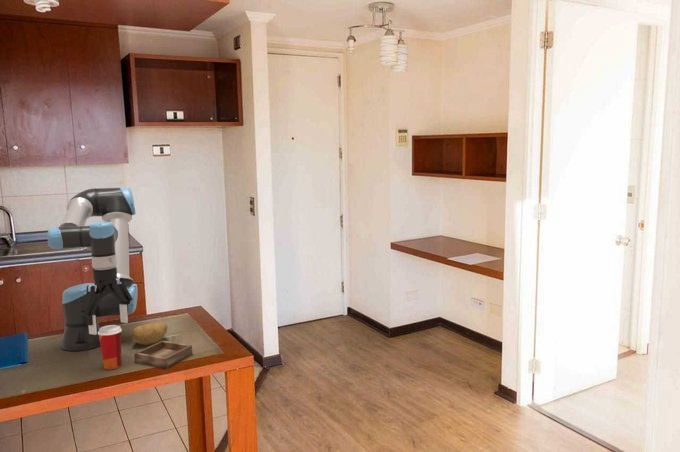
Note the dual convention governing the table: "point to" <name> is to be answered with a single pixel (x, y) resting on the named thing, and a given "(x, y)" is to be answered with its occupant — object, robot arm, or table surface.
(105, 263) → the robot arm
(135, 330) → the potato
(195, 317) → the table surface
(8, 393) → the table surface
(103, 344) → the paper cup
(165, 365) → the tray
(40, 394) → the table surface
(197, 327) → the table surface
